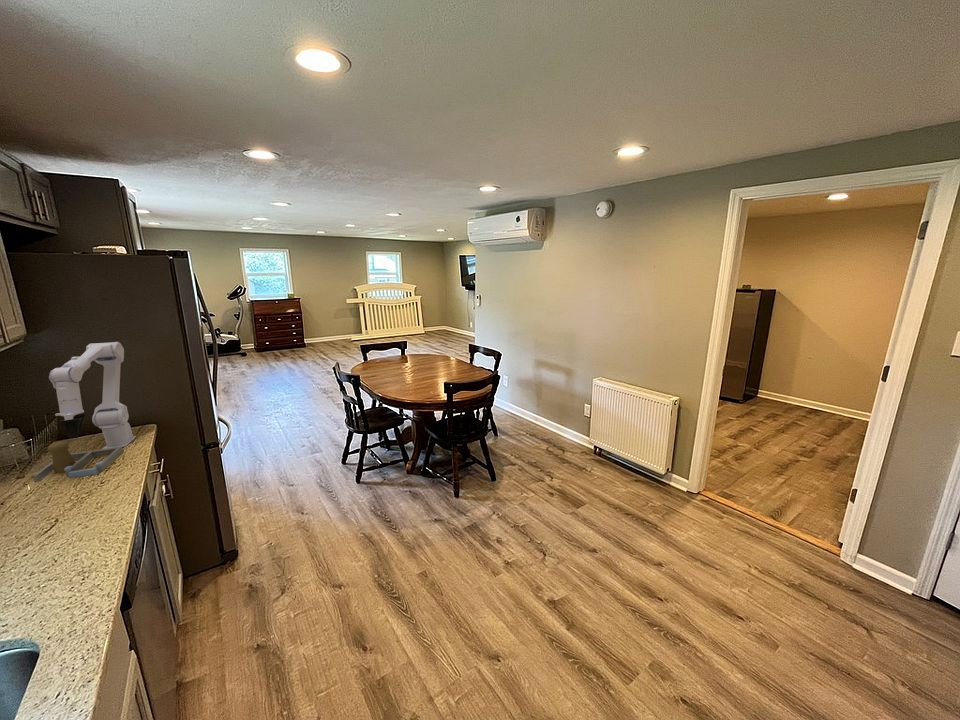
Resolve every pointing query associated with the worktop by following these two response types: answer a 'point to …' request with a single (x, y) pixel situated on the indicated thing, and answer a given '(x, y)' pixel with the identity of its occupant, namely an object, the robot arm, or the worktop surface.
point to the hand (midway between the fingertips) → (75, 436)
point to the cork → (60, 456)
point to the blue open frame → (83, 463)
